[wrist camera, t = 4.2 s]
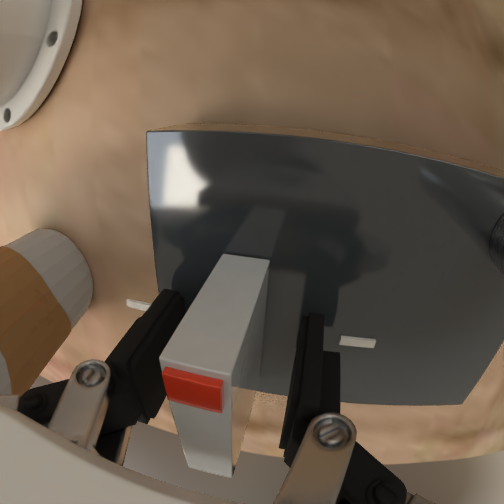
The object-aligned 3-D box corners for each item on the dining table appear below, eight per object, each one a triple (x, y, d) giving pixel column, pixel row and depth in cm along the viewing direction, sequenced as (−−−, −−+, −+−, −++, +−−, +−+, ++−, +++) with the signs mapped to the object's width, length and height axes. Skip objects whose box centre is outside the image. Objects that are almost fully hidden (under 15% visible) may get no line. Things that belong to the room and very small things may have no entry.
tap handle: (259, 379, 13) (230, 484, 8) (224, 372, 13) (185, 472, 9) (270, 259, 10) (228, 383, 6) (222, 252, 10) (152, 365, 6)
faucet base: (169, 323, 17) (142, 366, 14) (154, 123, 12) (104, 133, 9) (447, 359, 15) (462, 407, 12) (516, 175, 10) (562, 200, 7)
